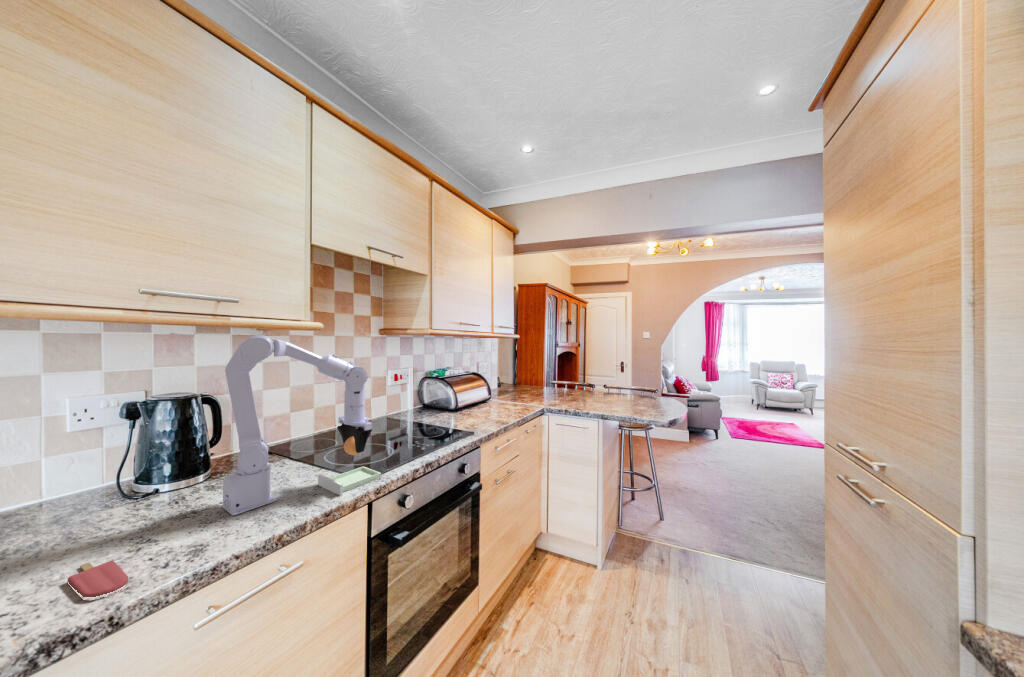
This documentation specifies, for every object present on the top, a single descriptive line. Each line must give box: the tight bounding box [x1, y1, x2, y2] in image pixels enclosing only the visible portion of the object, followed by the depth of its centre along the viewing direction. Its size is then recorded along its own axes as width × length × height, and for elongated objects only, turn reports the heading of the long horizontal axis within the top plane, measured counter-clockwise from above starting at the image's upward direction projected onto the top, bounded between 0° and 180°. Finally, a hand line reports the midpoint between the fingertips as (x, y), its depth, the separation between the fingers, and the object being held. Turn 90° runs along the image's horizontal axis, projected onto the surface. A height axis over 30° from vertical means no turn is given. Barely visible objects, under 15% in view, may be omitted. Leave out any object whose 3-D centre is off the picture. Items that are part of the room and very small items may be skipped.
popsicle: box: [67, 560, 129, 597], centre depth 60 cm, size 5×2×15 cm
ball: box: [343, 436, 360, 456], centre depth 103 cm, size 6×6×6 cm
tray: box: [329, 466, 382, 493], centre depth 103 cm, size 12×9×2 cm
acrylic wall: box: [317, 473, 344, 496], centre depth 97 cm, size 1×12×3 cm, turn 57°
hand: (354, 449), depth 103 cm, fingers closed on ball, 6 cm apart
